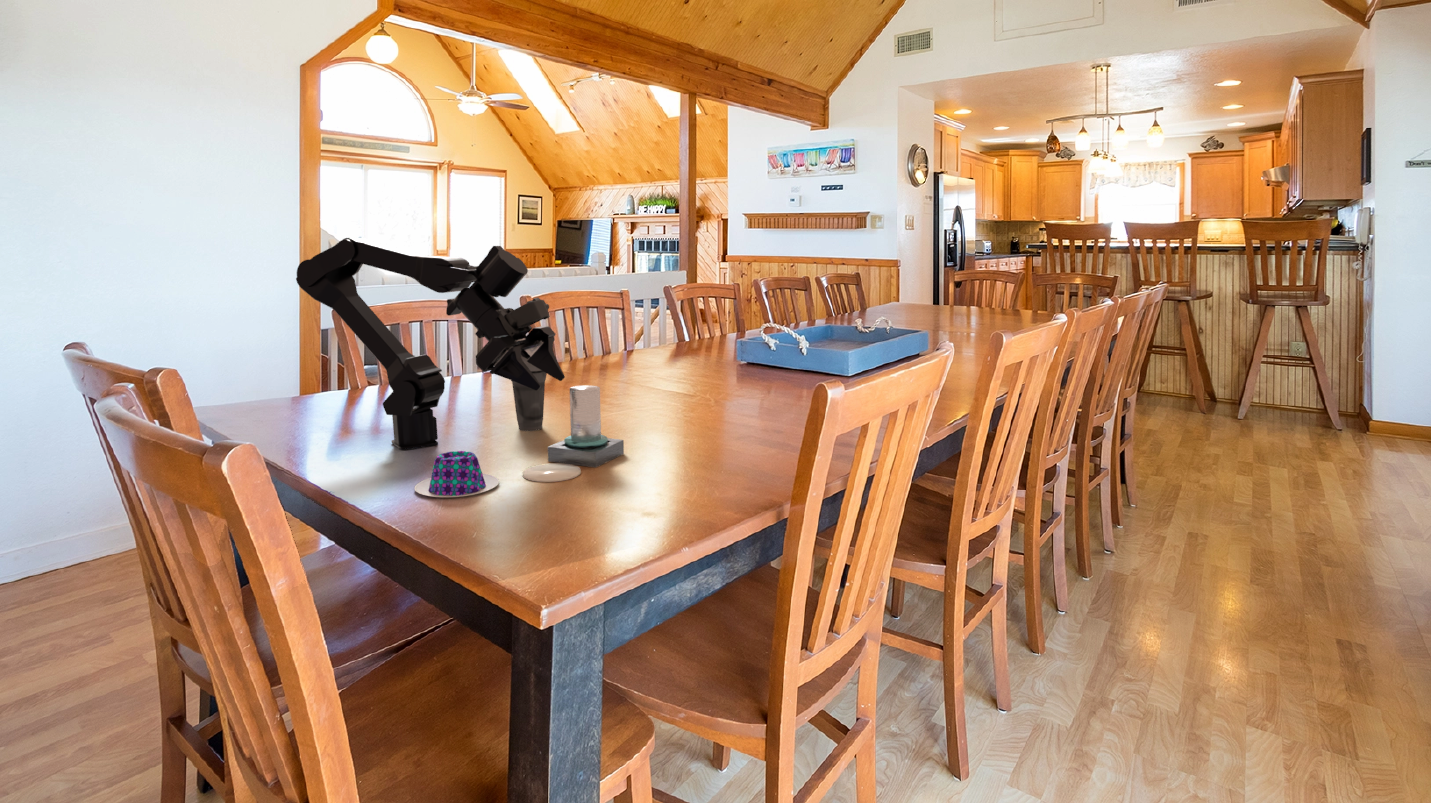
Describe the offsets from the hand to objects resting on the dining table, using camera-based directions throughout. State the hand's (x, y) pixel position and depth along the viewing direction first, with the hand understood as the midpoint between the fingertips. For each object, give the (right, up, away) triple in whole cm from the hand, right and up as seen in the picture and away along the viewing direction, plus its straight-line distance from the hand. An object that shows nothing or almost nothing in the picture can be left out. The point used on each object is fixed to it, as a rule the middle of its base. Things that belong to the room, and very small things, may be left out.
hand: (551, 383), depth 132 cm
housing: (+6, -13, +1) cm, 14 cm away
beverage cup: (-9, -8, +22) cm, 25 cm away
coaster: (+2, -14, -8) cm, 17 cm away
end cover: (+6, -13, +1) cm, 14 cm away
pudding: (-11, -16, -15) cm, 25 cm away
